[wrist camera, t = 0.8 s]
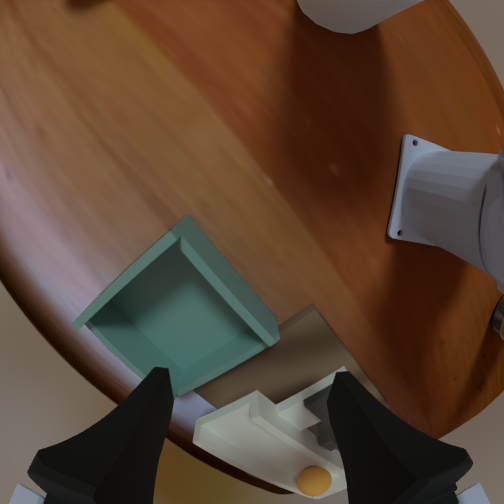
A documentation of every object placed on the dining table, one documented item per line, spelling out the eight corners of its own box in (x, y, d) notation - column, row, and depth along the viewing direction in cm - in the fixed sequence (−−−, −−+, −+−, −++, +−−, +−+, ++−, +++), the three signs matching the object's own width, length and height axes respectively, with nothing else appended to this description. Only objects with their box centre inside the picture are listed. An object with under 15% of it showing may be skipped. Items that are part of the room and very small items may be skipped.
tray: (395, 422, 21) (410, 455, 17) (305, 467, 23) (312, 501, 19) (321, 329, 17) (341, 376, 13) (199, 399, 19) (192, 447, 15)
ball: (332, 459, 18) (339, 486, 16) (322, 473, 19) (327, 498, 17) (299, 462, 18) (304, 490, 15) (291, 476, 19) (295, 501, 16)
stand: (386, 400, 26) (410, 449, 18) (291, 450, 28) (298, 500, 21) (312, 303, 21) (340, 366, 14) (190, 379, 23) (176, 445, 16)
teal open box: (276, 316, 22) (283, 356, 17) (183, 374, 23) (173, 414, 19) (188, 213, 19) (170, 231, 14) (100, 293, 21) (71, 324, 16)
